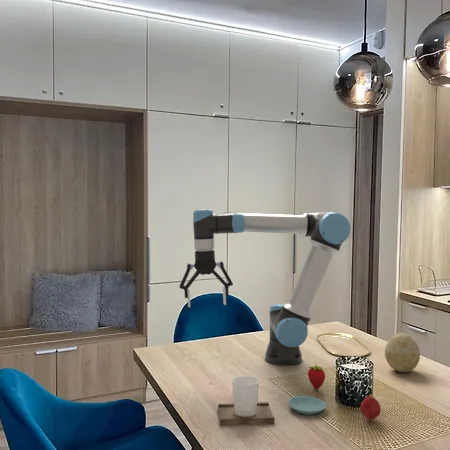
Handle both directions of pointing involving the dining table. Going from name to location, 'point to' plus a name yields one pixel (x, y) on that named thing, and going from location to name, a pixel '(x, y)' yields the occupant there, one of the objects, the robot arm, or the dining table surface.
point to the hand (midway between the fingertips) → (207, 305)
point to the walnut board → (230, 418)
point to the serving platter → (342, 335)
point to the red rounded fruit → (370, 408)
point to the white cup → (245, 395)
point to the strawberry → (316, 376)
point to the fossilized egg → (402, 352)
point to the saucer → (307, 404)
